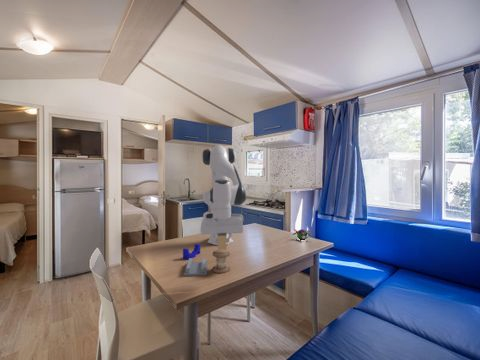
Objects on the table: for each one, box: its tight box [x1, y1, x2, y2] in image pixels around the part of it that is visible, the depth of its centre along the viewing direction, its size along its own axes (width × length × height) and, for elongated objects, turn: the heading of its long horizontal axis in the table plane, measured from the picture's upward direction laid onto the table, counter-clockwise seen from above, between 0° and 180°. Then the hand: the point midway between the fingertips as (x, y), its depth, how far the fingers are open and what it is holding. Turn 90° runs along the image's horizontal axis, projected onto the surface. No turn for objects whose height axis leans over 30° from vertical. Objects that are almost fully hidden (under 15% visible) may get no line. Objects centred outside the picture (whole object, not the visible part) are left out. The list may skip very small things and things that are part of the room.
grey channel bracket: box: [183, 257, 208, 277], centre depth 120 cm, size 16×11×4 cm
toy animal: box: [291, 228, 313, 240], centre depth 172 cm, size 11×15×10 cm
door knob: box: [212, 249, 231, 274], centre depth 119 cm, size 9×9×9 cm
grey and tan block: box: [217, 234, 227, 250], centre depth 108 cm, size 4×4×7 cm
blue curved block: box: [182, 243, 201, 261], centre depth 139 cm, size 12×4×6 cm, turn 149°
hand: (221, 242), depth 108 cm, fingers closed on grey and tan block, 4 cm apart
